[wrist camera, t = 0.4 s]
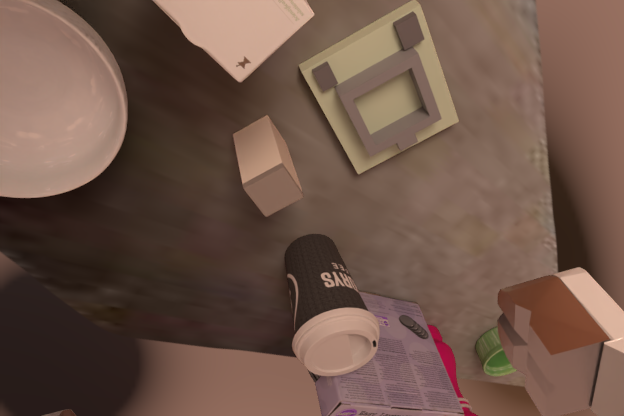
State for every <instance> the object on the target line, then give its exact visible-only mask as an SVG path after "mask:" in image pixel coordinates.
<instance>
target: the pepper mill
mask: <svg viewBox="0 0 624 416" xmlns="http://www.w3.org/2000/svg"><path fill="white" fill-rule="evenodd" d="M427 326H428V329H429V331H430V333H431V336H432V338H433V340H434V343H435V345H436V347H437V350H438V352H439V354H440V357H441V359H442V362H443V364H444V366H445V369H446V371H447V373H448V376H449V378H450V381H451V383H452V385H453V388H454V390H455V392H456V395H457V397H458V399H459V402H460V404H461V407H462V409H463V411H464V416H478V415H476V414H474V413H472V407H471V406H470V405H469V401H468V400H467V399H465V398H463V396H462V394H461V393H460V390H459V387H458V384H457V378H456V363H455V357H454V355H453V352H452V350H451V348H450V347H449V346H448V345H447V344H446V343H444V342H442V337H441V335H440V333H439V331H438V329H437V328H436V327H434V326H432V325H427Z"/></svg>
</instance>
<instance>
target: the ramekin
mask: <svg viewBox="0 0 624 416" xmlns="http://www.w3.org/2000/svg"><path fill="white" fill-rule="evenodd" d="M476 352H477V354H478V356H479V358H480V361H481V363H482V367H483V370H484V372H485V373H486V374H487V375H490V376H503V375H507V374H510V373H513V372H515V371H517V370H516V369H514V368H513V367H512V365H511V364H510V362H509V360H508V358H507V357H506V355H505V352H504V350H503V348H502V346H501V342H500V338H499V334H498V327H495V328H493V329H491V330H489V331H487V332H486V333H484V334H483V335H482V336H481V337H480V338H479V339H478V341H477V343H476Z"/></svg>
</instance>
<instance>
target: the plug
mask: <svg viewBox="0 0 624 416" xmlns="http://www.w3.org/2000/svg"><path fill="white" fill-rule="evenodd" d="M233 138H234V143H235V149H236V154H237V159H238V164H239V169H240V174H241V179H242V184H243V189H244V190H245V191H246V193H247V194H248V195H249V196H250V198H251V199H252V200H253V201H254V203H255V204H256V205H257V207H258V208H259V209H260V210H261V212H262V213H263V214H264V215H265V217H267V216H269V215H271V214H273V213H275V212H277V211H278V210H280V209H282V208H284V207H286V206H288V205H290V204H292V203H294V202H295V201H297V200H299V199H301V198H303V197H304V195H303V192H302V189H301V186H300V183H299V180H298V177H297V174H296V171H295V168H294V165H293V162H292V159H291V156H290V153H289V151H288V148H287V145H286V143H285V141H284V139H283V138H282V136H281V135H280V133H279V132H278V130H277V129H276V127H275V126H274V124H273V123H272V121H271V119H270V118H269V116H268V115H266V116H264V117H263V118H261V119H259V120H257V121H255V122H254V123H252V124H250V125H248V126H247V127H245V128H243V129H241V130H239V131H238V132H236V133H234V134H233Z"/></svg>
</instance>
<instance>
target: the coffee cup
mask: <svg viewBox="0 0 624 416" xmlns="http://www.w3.org/2000/svg"><path fill="white" fill-rule="evenodd" d="M285 263H286V270H287V278H288V285H289V292H290V300H291V307H292V315H293V323H294V330H295V336H294V338H293V342H292V348H293V351H294V353H295V355H296V357H297V358H298V359H299V361H300V362H301V363H302V364H303V365H305V366H306V368H307V369H308V370H309V371H310V372H312V373H314V374H317V375H321V376H338V375H343V374H346V373H349V372H352V371H354V370H356V369H358V368H360V367H362V366H363V365H365V364H366V363H367V362H369V361H370V360H371V359H372V357H373V356H374V355H375V353H376V351H377V348H378V341H379V336H380V328H379V322H378V320H377V318H376V317H375V316H374V315H373V314H372V313H370V312H369V311H368V309H367V307H366V305H365V303H364V301H363V299H362V298H361V296H360V294H359V292H358V290H357V288H356V286H355V284H354V282H353V280H352V278H351V276H350V274H349V272H348V270H347V268H346V266H345V264H344V262H343V260H342V258H341V256H340V254H339V252H338V250H337V248H336V246H335V244H334V242H333V241H332V240H331V239H330V238H329V237H327V236H324V235H320V234H311V235H306V236H303V237H300V238H298V239H297V240H295V241H294V242H293V243H291V244H290V246H289V247H288V248H287V250H286V253H285Z"/></svg>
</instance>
